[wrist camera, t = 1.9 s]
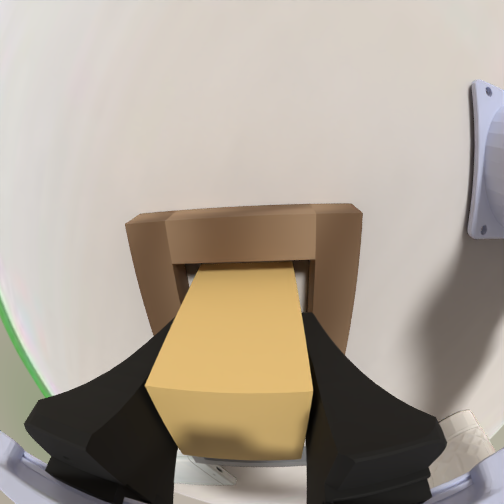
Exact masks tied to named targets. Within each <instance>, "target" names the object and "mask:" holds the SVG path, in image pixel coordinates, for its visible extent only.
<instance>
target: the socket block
mask: <svg viewBox="0 0 504 504" xmlns="http://www.w3.org/2000/svg"><path fill="white" fill-rule="evenodd" d="M362 217H363V213H362V212H361V211H360V210H358V209H357V208H356V207H355V206H354V205H353V204H291V205H263V206H241V207H223V208H207V209H192V210H179V211H167V212H155V213H144V214H139V215H138V216H136V217H135V218H133V219H132V220H130V221H129V222H128V223H126V224H125V227H126V232H127V237H128V242H129V246H130V251H131V255H132V260H133V264H134V268H135V272H136V276H137V280H138V284H139V288H140V291H141V295H142V299H143V302H144V306H145V309H146V313H147V316H148V319H149V323H150V326H151V329H152V332H153V335H154V336H155V335H156V334H157V333H158V332H159V331H160V330H161V329H162V328H163V327H165V326H166V325H167V324H168V323H169V322H170V321H171V320H172V319H173V318H174V317H175V316H176V315H177V313H178V311H179V309H180V307H181V304H182V302H183V300H184V298H185V296H186V294H187V292H188V290H189V284H188V279H187V273H186V268H185V263H221V262H252V261H281V260H309V259H310V260H309V290H308V311H307V313H308V312H312V313H313V314H314V315H315V317H316V318H317V320H318V321H319V323H320V324H321V326H322V327H323V329H324V330H325V331H326V333H327V334H328V336H329V337H330V338H331V339H332V341H333V342H334V343H335V344H336V346H337V347H338V348H339V349H340V350H341V351H342V353H343V354H344V355H345V352H346V347H347V341H348V336H349V330H350V324H351V318H352V312H353V305H354V298H355V291H356V283H357V275H358V266H359V256H360V245H361V232H362Z"/></svg>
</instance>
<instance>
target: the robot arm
mask: <svg viewBox="0 0 504 504" xmlns="http://www.w3.org/2000/svg"><path fill="white" fill-rule="evenodd" d="M486 90H487V93H488V94H487V93H486ZM472 96H473V108H474V129H475V155H474V177H473V189H472V199H471V208H470V215H469V222H468V235H469V236H470V237H472V238H473V239H504V90H503V89H501V88H499V87H496V86H494V85H492V84H490V83H487V82H485V81H483V80H479V79H478V80H474V81H473V82H472ZM482 226H483V228H482ZM481 228H482V230H481ZM301 314H302V320H303V326H304V332H305V339H306V345H307V352H308V358H309V365H310V372H311V379H312V386H313V396H312V402H311V408H310V414H309V420H308V426H307V431H306V462H307V504H504V448H502V449H500V450H499V451H497V452H495V453H493V454H492V455H490V456H488V457H487V458H485V459H483V460H482V461H481V462H479V463H478V464H477V465H475V466H474V467H473V468H472V469H471V470H470V471H469V472H467V473H465V474H463V475H461V476H459V477H457V478H455V479H452V480H450V481H448V482H446V483H443V484H441V485H439V486H436V487H434V488H431V489H430V487H429V483H428V478H429V477H430V476H431V473H430V470H429V466H430V465H431V464H432V463H433V462H434V461H435V460H436V459H437V458H438V457H439V456H440V455H441V454H442V453H443V451H444V450H445V448H446V446H447V441H446V438H445V436H444V433H443V430H442V428H441V426H440V424H439V423H438V421H437V419H436V417H434V416H431V415H429V414H427V413H425V412H422V411H420V410H418V409H416V408H414V407H412V406H410V405H408V404H406V403H404V402H403V401H401V400H399V399H397V398H396V397H394V396H393V395H391V394H390V393H388V392H387V391H385V390H384V389H382V388H381V387H380V386H378V385H377V384H375V383H374V382H373V381H372V380H370V379H369V378H368V377H367V376H366V375H365V374H363V373H362V372H361V371H360V370H359V369H358V368H357V367H356V366H355V365H354V364H353V363H352V362H351V361H350V360H349V359H348V358H347V357H346V356H345V355H344V354H343V353H342V351H341V350H340V349H339V348H338V347H337V346H336V344H335V343H334V342H333V341H332V339H331V338H330V337H329V336H328V334H327V333H326V331H325V330H324V329H323V327H322V326H321V324H320V323H319V321H318V320H317V318H316V317H315V315H314V314H313V313H312V312H308V313H301ZM175 317H176V316H175ZM175 317H174V318H173V319H172V320H171V321H170V322H169V323H168V324H167V325H166V326H165V327H163V328H162V329H161V330H160V331H159V332H158V333H157V334H156V335H155V336H154V337H153V338H151V339H150V340H149V341H148V342H147V343H146V344H145V345H143V346H142V347H141V348H140V349H138V350H137V351H136V352H135V353H134V354H132V355H131V356H130V357H129V358H127V359H126V360H125V361H123V362H122V363H120V364H119V365H117V366H116V367H114V368H113V369H111V370H110V371H108V372H106V373H105V374H103V375H101V376H99V377H97V378H95V379H93V380H92V381H90V382H88V383H86V384H84V385H81V386H79V387H77V388H74V389H72V390H69V391H67V392H64V393H61V394H58V395H55V396H51V397H48V398H45V399H41V400H38V402H37V404H36V405H35V407H34V408H33V410H32V412H31V413H30V415H29V417H28V418H27V420H26V421H25V423H24V425H25V429H26V430H27V432H28V433H29V435H30V436H31V437H32V438H33V439H34V440H35V441H36V442H37V443H38V444H39V445H40V446H41V447H42V448H43V449H44V450H45V451H46V452H47V453H49V454H50V455H51V458H50V460H49V462H48V464H46V463H44V462H43V461H41V460H39V459H37V458H36V457H34V456H32V455H31V454H29V453H27V452H26V451H24V449H23V448H22V447H21V446H20V445H19V444H18V443H17V442H16V441H14V440H13V439H12V438H10V437H9V436H8V435H6V434H5V433H3V432H2V431H1V430H0V490H1V491H2V492H3V493H4V494H6V495H7V496H8V497H9V498H10V499H11V500H12V501H13V502H14V503H16V504H173V492H174V477H175V466H176V458H177V451H178V446H177V445H176V443H175V441H174V440H173V438H172V436H171V434H170V433H169V431H168V429H167V427H166V426H165V424H164V422H163V420H162V418H161V417H160V415H159V413H158V411H157V409H156V407H155V405H154V403H153V401H152V399H151V397H150V395H149V393H148V391H147V389H146V387H145V384H146V382H147V379H148V377H149V375H150V372H151V370H152V368H153V366H154V363H155V361H156V359H157V357H158V354H159V352H160V350H161V348H162V345H163V343H164V341H165V339H166V337H167V334H168V332H169V330H170V328H171V326H172V324H173V321H174V319H175Z"/></svg>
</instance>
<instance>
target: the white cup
mask: <svg viewBox="0 0 504 504" xmlns="http://www.w3.org/2000/svg"><path fill="white" fill-rule="evenodd" d="M439 424H440V426H441V428H442V430H443V433H444V436H445V438H446V441H447V446H446V448H445V450H444V451H443V453H442V454H441V455H440V456H439V457H438V458H437V459H436V460H435V461H434V462H433V463H432V464H431V465H430V466H429V470H430V473H431V476H430V477H429V478H428V483H429V487H430V489H431V488H434V487H436V486H439V485H441V484H443V483H446V482H448V481H450V480H452V479H455V478H457V477H459V476H461V475H463V474H465V473H467V472H469V471H470V470H471V469H472V468H473V467H474V466H475V465H477V464H478V463H479V462H481V461H482V460H483V459H485V458H487V457H488V456H490V455H492V454H493V453H495V452H496V451H495V449H494V447H493V446H492V444H491V442H490V440H489V438H488V437H487V435H486V433H485V431H484V430H483V428H481V427H480V425H479V423H478V421H477V419H476V417H475V416H474V414H473V413H472V412H471V411H470V410H465V411H460V412H458V413H456V414H454V415H452V416H449V417H448V418H446V419H444V420H442V421H441V422H440V423H439Z"/></svg>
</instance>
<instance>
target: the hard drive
mask: <svg viewBox="0 0 504 504" xmlns="http://www.w3.org/2000/svg"><path fill="white" fill-rule="evenodd" d="M236 480H237V479H236V478H235V477H234V476H232V475H231V474H230V473H228V472H227V471H226V470H224V469H223V468H222V467H221V466H219V465H211V464H201V463H196V462H195V460H194V459H193V457H192V456H189V455H183V454H182V453H181V451H180V450H178V451H177V458H176V466H175V477H174V483H179V484H194V485H236Z"/></svg>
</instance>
